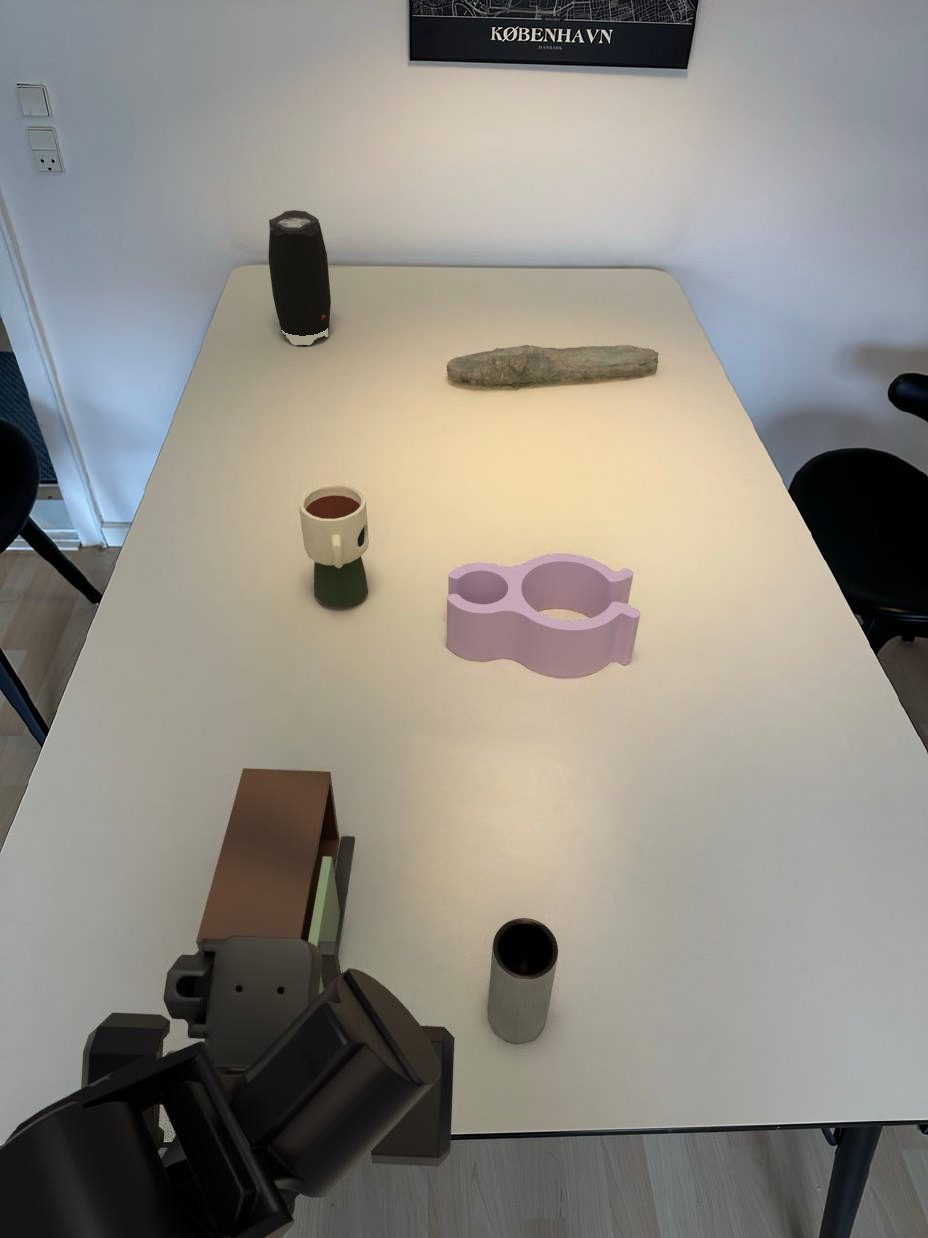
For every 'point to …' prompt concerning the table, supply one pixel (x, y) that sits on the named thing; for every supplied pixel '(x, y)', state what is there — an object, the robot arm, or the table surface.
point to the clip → (514, 629)
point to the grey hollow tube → (521, 979)
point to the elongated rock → (550, 365)
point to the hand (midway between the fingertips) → (302, 1023)
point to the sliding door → (326, 923)
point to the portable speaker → (299, 273)
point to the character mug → (336, 542)
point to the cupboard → (276, 857)
